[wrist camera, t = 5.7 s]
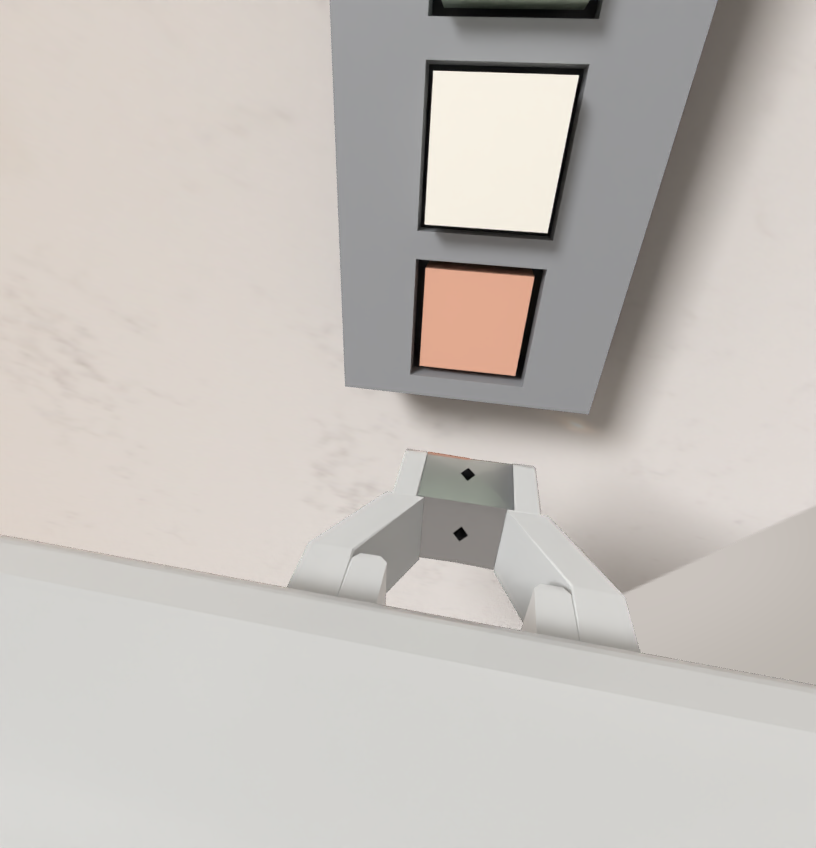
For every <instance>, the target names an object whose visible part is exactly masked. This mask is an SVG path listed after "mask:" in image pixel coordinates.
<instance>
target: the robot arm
mask: <svg viewBox="0 0 816 848" xmlns="http://www.w3.org/2000/svg"><path fill="white" fill-rule="evenodd" d="M419 557H422V558H429V559H436V560H443V561H450V562H457V563H462V564H467V565H472V566H477V567H482V568H487V569H492V570H494V573H495V575H496V577H497V578H498V580H499V582H500V584H501V585H502V587H503V589H504V591H505V592H506V594H507V596H508V598H509V599H510V601H511V603H512V604H513V606H514V608H515V610H516V611H517V613H518V615H519V617H520V618H521V620H522V622H523V625H522V628H521V630H516V629H510V628H505V627H499V626H494V625H488V624H483V623H478V622H472V621H467V620H461V619H456V618H450V617H445V616H440V615H434V614H429V613H423V612H418V611H412V610H407V609H401V608H396V607H391V606H386V593H387V592H388V591H389V590H390V589H391V588H392V587H393V586H394V585H395V583H396V582H397V581H398V580H399V579H400V578H401V577H402V576H403V575H404V574H405V573H406V572H407V571H408V570H409V569H410V568H411V567H412V566H413V565H414V564H415V563H416V562H417V561H418V560H419ZM456 560H457V561H456ZM0 848H816V685H813V684H808V683H803V682H797V681H792V680H786V679H781V678H776V677H770V676H765V675H759V674H753V673H748V672H743V671H738V670H732V669H726V668H720V667H716V666H710V665H705V664H699V663H694V662H688V661H683V660H677V659H672V658H667V657H661V656H656V655H650V654H645V653H640V649H639V646H638V642H637V639H636V635H635V632H634V628H633V624H632V621H631V617H630V613H629V610H628V606H627V602H626V599H625V596H624V595H623V594H622V593H621V592H620V591H619V590H618V589H617V588H616V587H615V586H614V585H613V584H612V583H611V582H610V581H609V579H608V578H607V577H606V576H605V575H604V574H603V573H602V572H601V571H600V570H599V569H598V568H597V567H596V566H595V565H594V564H593V563H592V562H591V561H590V560H589V559H588V557H587V556H586V555H585V554H584V553H583V552H582V551H581V550H580V549H579V548H578V547H577V546H576V545H575V544H574V543H573V542H572V541H571V540H570V539H569V538H568V537H567V535H566V534H565V533H564V532H563V531H562V530H561V529H560V528H559V527H558V526H557V525H556V524H555V523H554V522H553V521H552V520H551V519H550V518H549V517H548V516H546V515H541V509H540V500H539V492H538V483H537V475H536V468H535V467H534V466H530V465H521V464H506V463H499V462H491V461H484V460H476V459H470V458H465V457H458V456H452V455H446V454H440V453H433V452H427V451H420V450H413V449H407V450H406V451H405V453H404V457H403V460H402V463H401V466H400V469H399V473H398V476H397V479H396V482H395V486H394V489H393V492H385V493H383V494H382V495H380V496H379V497H377V498H376V499H374V500H373V501H371V502H369V503H368V504H366V505H365V506H363V507H362V508H360V509H359V510H357V511H356V512H354V513H353V514H351V515H350V516H348V517H347V518H345V519H343V520H342V521H340V522H339V523H337V524H336V525H334V526H333V527H331V528H330V529H328V530H327V531H325V532H324V533H322V534H320V535H319V536H317V537H316V538H314V539H313V540H311V541H310V542H309V543H308V545H307V547H306V549H305V551H304V553H303V555H302V557H301V559H300V561H299V563H298V565H297V567H296V569H295V571H294V573H293V575H292V577H291V579H290V582H289V584H288V586H287V587H282V586H277V585H271V584H266V583H260V582H255V581H250V580H244V579H239V578H233V577H228V576H222V575H217V574H212V573H206V572H201V571H195V570H190V569H184V568H179V567H174V566H168V565H163V564H157V563H152V562H147V561H141V560H136V559H130V558H125V557H119V556H114V555H109V554H103V553H98V552H92V551H87V550H82V549H76V548H71V547H65V546H60V545H54V544H49V543H44V542H38V541H33V540H27V539H22V538H17V537H11V536H6V535H0Z"/></svg>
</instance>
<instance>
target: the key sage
mask: <svg viewBox="0 0 816 848" xmlns="http://www.w3.org/2000/svg"><path fill="white" fill-rule="evenodd" d="M589 1H590V0H442V3H443V6H444V8H489V9H556V10H584V9H585V7H586V6H587V4H588V3H589Z"/></svg>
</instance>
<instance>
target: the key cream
mask: <svg viewBox="0 0 816 848" xmlns="http://www.w3.org/2000/svg"><path fill="white" fill-rule="evenodd" d="M578 78H579V75H557V74H525V73H493V72H461V71H433V85H432V103H431V120H430V137H429V155H428V172H427V189H426V207H425V225H439V226H453V227H467V228H481V229H495V230H509V231H523V232H537V233H548V228H549V223H550V218H551V213H552V208H553V203H554V198H555V193H556V188H557V183H558V178H559V173H560V168H561V163H562V158H563V153H564V148H565V143H566V138H567V133H568V128H569V123H570V118H571V113H572V108H573V103H574V98H575V93H576V88H577V83H578Z"/></svg>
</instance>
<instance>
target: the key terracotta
mask: <svg viewBox="0 0 816 848" xmlns="http://www.w3.org/2000/svg"><path fill="white" fill-rule="evenodd" d="M533 282H534V274H533V271H532V268H521V267H508V266H496V265H483V264H471V263H459V262H446V261H434V260H430V261H429V263H428V265H427V266H426V269H425V285H424V302H423V318H422V334H421V350H420V366H428V367H437V368H446V369H455V370H465V371H474V372H483V373H493V374H502V375H511V376H515V375H516V369H517V364H518V359H519V354H520V349H521V344H522V339H523V333H524V328H525V323H526V318H527V313H528V308H529V303H530V297H531V292H532V287H533Z"/></svg>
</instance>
